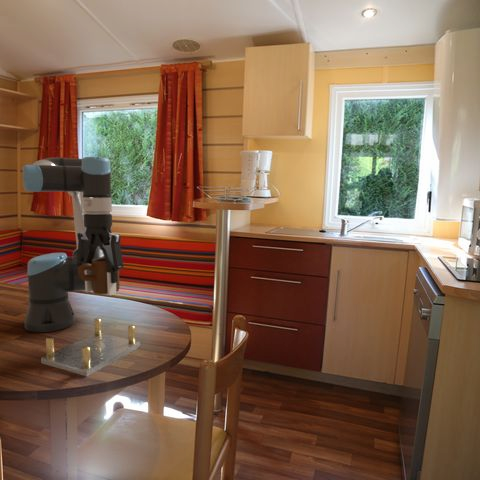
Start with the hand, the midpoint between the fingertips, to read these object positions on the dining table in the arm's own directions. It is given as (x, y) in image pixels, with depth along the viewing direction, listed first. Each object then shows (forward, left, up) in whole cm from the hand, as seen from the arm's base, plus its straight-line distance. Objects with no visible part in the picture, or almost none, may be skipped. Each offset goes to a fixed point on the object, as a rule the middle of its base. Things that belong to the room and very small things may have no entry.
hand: (100, 292), depth 114 cm
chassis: (+3, -6, -16) cm, 17 cm away
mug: (-1, 0, 0) cm, 1 cm away
